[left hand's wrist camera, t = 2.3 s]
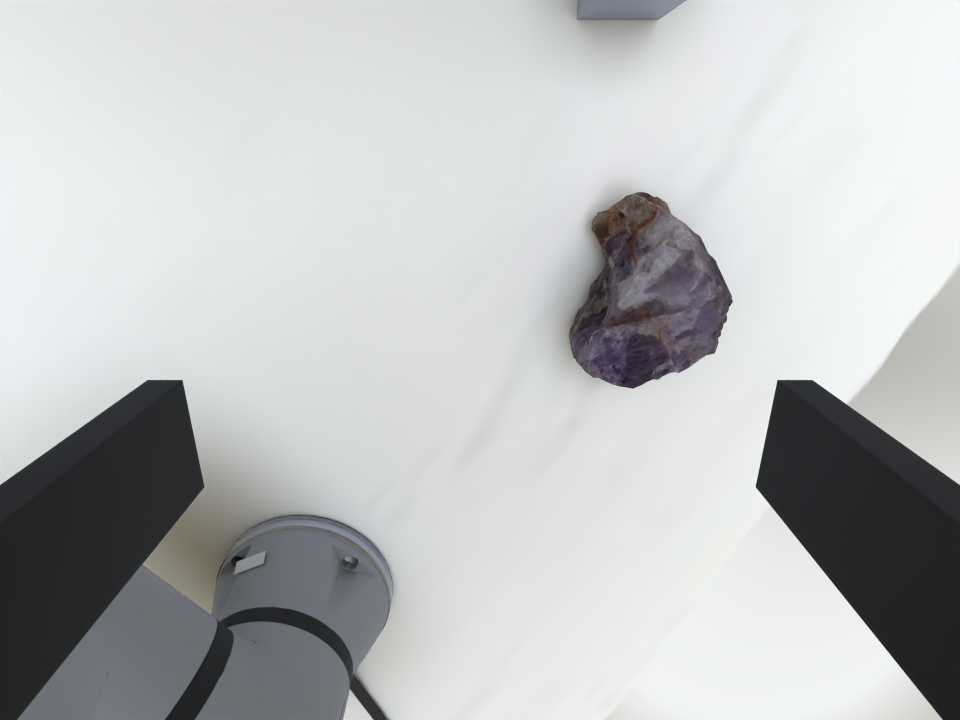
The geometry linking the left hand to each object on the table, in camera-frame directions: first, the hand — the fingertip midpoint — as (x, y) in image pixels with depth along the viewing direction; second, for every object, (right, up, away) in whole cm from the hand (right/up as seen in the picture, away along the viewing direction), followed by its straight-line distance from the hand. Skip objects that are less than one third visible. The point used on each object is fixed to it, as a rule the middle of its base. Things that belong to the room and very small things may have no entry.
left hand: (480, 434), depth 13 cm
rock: (+11, +7, +29) cm, 32 cm away
